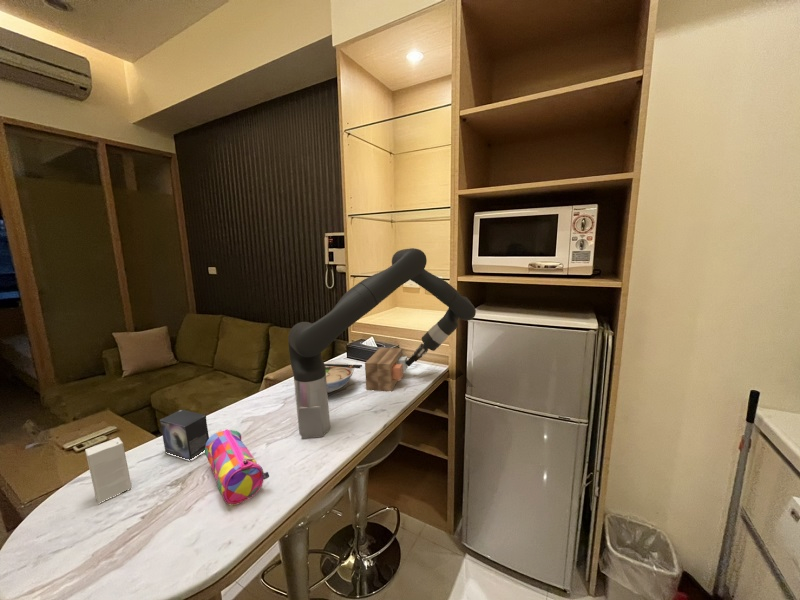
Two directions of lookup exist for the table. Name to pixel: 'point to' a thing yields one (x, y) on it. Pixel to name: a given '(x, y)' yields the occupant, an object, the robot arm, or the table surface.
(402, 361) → the grey key
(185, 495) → the table surface
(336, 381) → the ramen bowl
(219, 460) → the pencil case
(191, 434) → the small box
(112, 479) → the skincare box
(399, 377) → the salmon key
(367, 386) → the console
